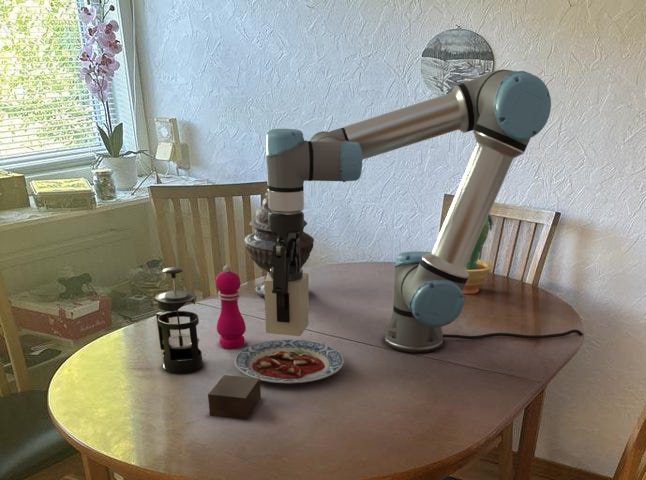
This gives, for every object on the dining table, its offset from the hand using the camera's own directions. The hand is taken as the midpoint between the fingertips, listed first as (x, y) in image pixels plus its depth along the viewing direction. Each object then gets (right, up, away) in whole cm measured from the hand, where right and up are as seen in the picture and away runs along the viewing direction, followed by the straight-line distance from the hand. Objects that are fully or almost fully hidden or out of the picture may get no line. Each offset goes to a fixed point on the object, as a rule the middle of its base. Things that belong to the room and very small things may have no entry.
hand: (288, 315), depth 160 cm
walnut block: (-10, -22, -12) cm, 27 cm away
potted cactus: (+50, +23, +64) cm, 84 cm away
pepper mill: (-16, -3, +19) cm, 25 cm away
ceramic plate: (0, -11, +7) cm, 13 cm away
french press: (-26, -11, +6) cm, 29 cm away
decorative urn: (-8, +19, +54) cm, 58 cm away
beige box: (-5, -1, +2) cm, 6 cm away
